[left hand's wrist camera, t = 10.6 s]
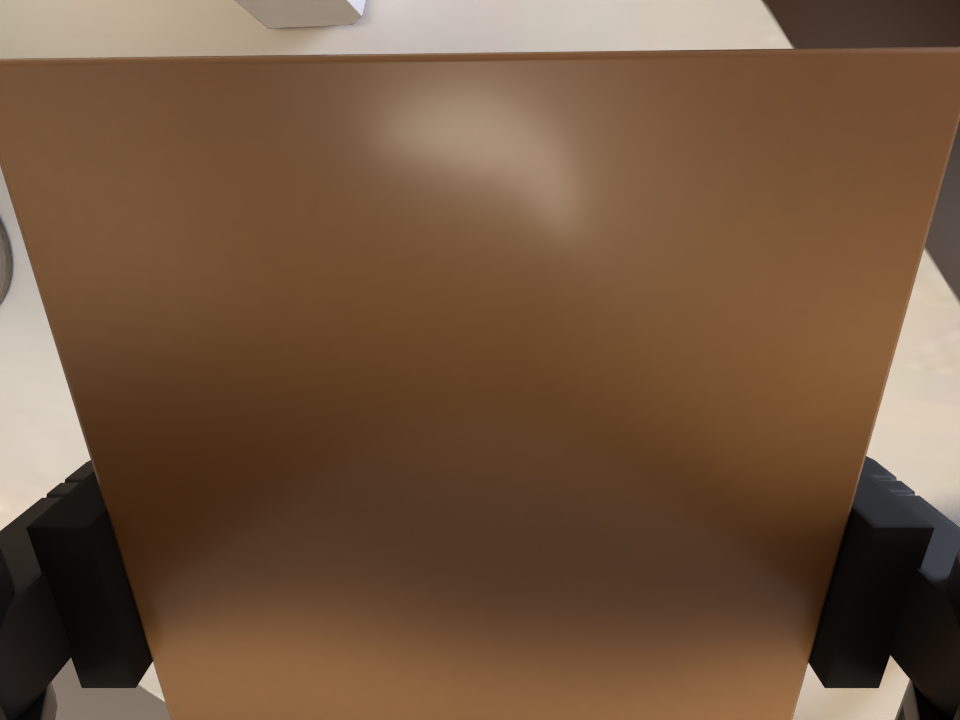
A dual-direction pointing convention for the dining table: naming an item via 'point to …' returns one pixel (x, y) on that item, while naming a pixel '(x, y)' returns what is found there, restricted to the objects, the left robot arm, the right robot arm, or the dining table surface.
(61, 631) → the left robot arm
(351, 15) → the electronic device
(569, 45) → the dining table surface
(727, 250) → the long wooden beam
